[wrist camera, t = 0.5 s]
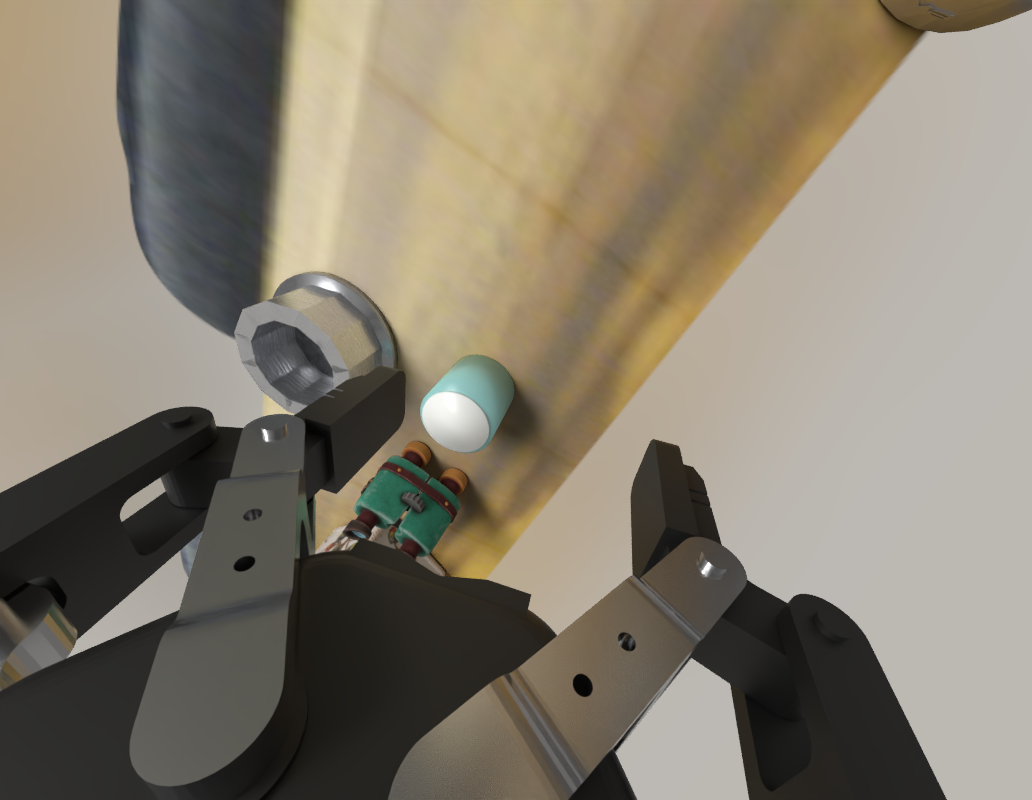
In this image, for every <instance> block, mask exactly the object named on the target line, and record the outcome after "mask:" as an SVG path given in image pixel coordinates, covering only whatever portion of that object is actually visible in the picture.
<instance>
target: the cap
mask: <svg viewBox="0 0 1032 800" xmlns="http://www.w3.org/2000/svg"><path fill="white" fill-rule="evenodd" d="M513 398H514V383H513V380H512V378H511V376H510V374H509V373H508V371H507V370H506V369H505V368H504V367H503V366H502V365H501V364H500V363H499V362H497V361H496V360H494V359H492V358H489V357H487V356H483V355H469V356H466V357H464V358H462V359H460V360H459V361H458V362H457V363H456V364H455V365H454V366H453V367H452V368H451V369H450V370H449V371H448V372H447V373H446V374H445V376H444V377H443V378H442V379H441V380H440V381H439V382H438V383H437V384H436V385H435V386H434V387H433V389H432V390H431V391H430V392H429V393H428V394H427V395H426V396H425V398H424V399H423V401H422V404H421V409H420V414H421V419H422V422H423V425H424V427H425V429H426V430H427V432H428V433H429V434H430V435H431V437H432V438H433V439H434V440H435V441H436V442H438V443H439V444H440V445H442V446H444V447H446V448H448V449H450V450H453V451H456V452H461V453H473V452H477V451H480V450H482V449H483V448H485V447H486V446H487V445H488V444H489V443H490V441H491V440H492V438H493V436H494V434H495V432H496V430H497V428H498V427H499V425H500V423H501V421H502V419H503V417H504V416H505V414H506V412H507V410H508V408H509V406H510V404H511V403H512V401H513Z"/></svg>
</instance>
